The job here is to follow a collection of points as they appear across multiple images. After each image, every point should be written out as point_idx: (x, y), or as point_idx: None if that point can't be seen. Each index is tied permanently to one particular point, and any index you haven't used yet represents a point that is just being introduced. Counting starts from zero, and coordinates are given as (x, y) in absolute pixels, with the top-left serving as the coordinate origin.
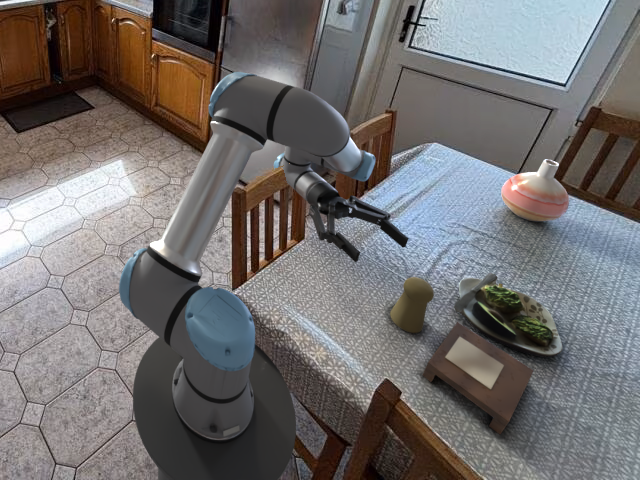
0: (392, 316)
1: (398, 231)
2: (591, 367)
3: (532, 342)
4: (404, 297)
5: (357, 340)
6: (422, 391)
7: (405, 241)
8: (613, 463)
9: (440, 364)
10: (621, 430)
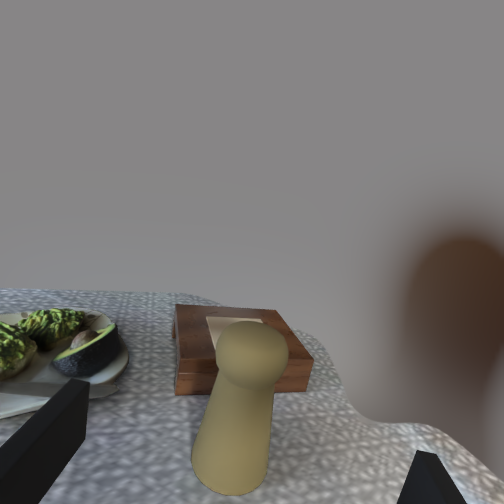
0: (264, 472)
1: (37, 425)
2: (65, 304)
3: (79, 330)
4: (272, 393)
5: (397, 485)
6: (323, 383)
7: (87, 397)
8: (195, 297)
9: (296, 351)
10: (148, 294)
